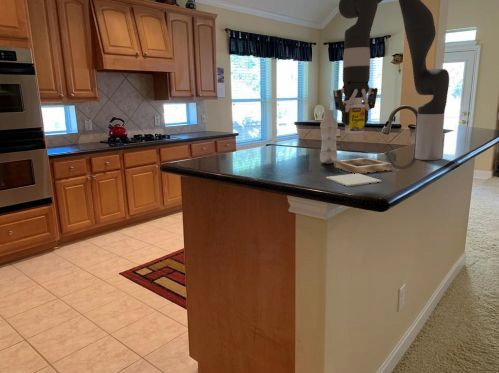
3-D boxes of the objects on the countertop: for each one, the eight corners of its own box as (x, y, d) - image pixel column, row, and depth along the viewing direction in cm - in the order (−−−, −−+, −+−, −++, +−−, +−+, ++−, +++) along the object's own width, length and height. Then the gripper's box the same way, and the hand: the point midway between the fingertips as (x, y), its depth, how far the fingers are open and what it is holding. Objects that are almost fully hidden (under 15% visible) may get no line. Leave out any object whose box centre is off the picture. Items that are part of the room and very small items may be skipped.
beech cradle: (366, 163, 145) (366, 157, 145) (391, 169, 132) (391, 163, 132) (333, 167, 141) (333, 161, 140) (356, 174, 128) (356, 167, 127)
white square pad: (358, 174, 127) (358, 173, 127) (381, 182, 116) (381, 180, 116) (325, 178, 123) (325, 176, 123) (347, 186, 112) (347, 184, 112)
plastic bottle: (340, 162, 148) (341, 109, 143) (331, 165, 143) (332, 110, 138) (326, 161, 152) (326, 109, 148) (316, 164, 148) (316, 110, 143)
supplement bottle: (350, 134, 113) (351, 98, 110) (341, 132, 118) (342, 97, 116) (367, 132, 114) (369, 97, 112) (358, 131, 119) (359, 97, 117)
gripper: (369, 65, 117) (367, 122, 121) (327, 66, 113) (327, 125, 117) (385, 63, 110) (382, 123, 114) (341, 64, 106) (340, 126, 110)
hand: (354, 124), depth 116 cm, fingers closed on supplement bottle, 5 cm apart
